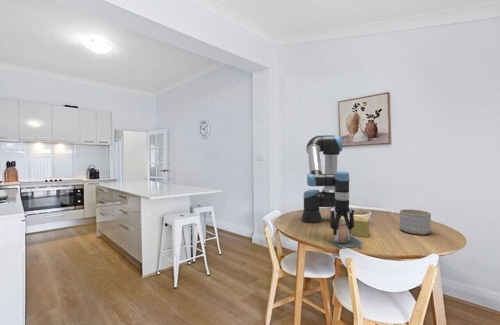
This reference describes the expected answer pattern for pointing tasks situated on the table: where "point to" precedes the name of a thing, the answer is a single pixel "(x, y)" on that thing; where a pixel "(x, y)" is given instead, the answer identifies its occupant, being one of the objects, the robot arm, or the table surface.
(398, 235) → the table surface
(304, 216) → the robot arm
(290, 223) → the table surface
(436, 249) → the table surface
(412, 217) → the planter
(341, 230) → the pink rounded cylinder
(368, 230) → the cheese
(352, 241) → the divider wall
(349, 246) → the mat
